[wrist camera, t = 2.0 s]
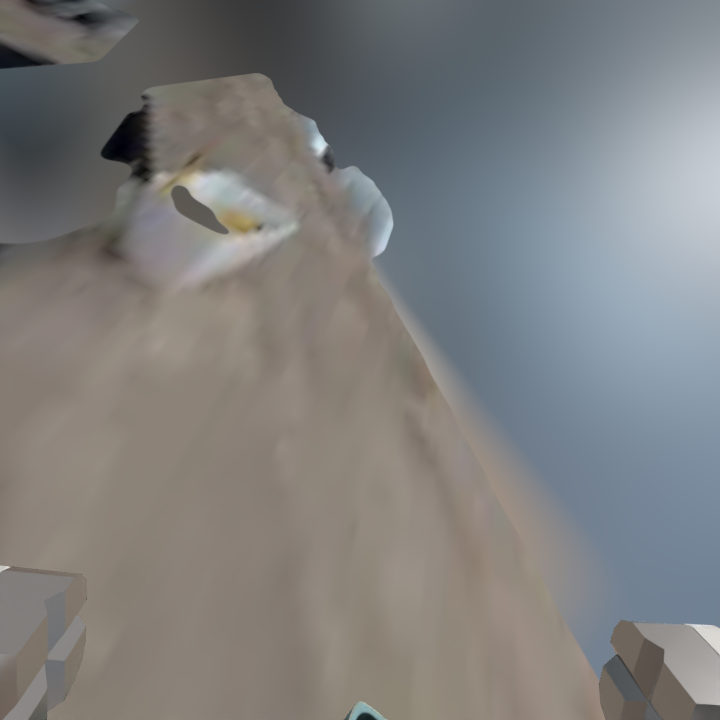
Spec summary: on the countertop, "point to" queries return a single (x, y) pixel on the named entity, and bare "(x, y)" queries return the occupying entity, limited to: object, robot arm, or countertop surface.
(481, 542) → the countertop surface
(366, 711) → the flower pot
